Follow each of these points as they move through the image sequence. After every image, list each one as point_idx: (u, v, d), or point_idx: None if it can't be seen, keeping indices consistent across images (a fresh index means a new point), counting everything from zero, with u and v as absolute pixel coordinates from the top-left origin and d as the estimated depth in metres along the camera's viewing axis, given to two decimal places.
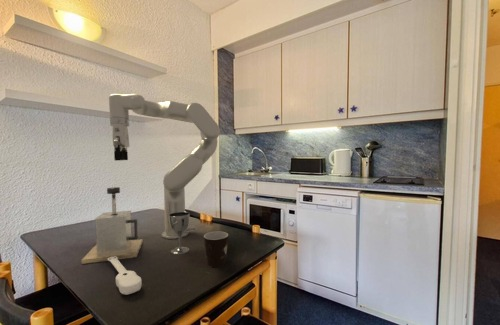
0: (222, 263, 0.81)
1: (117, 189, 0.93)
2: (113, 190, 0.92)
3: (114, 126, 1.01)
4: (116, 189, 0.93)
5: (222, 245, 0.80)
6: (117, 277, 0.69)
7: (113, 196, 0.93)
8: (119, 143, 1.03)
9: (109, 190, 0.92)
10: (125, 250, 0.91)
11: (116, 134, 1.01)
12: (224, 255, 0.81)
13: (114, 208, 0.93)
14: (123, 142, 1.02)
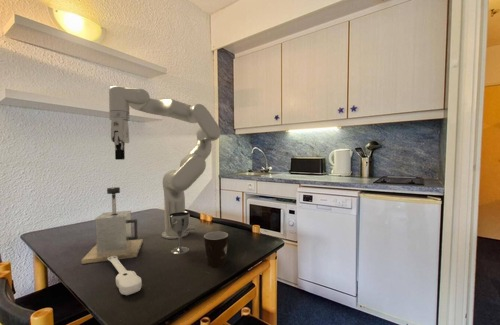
0: (222, 263, 0.81)
1: (117, 189, 0.93)
2: (113, 190, 0.92)
3: (113, 120, 0.95)
4: (116, 189, 0.93)
5: (222, 245, 0.80)
6: (117, 277, 0.69)
7: (113, 196, 0.93)
8: None
9: (109, 190, 0.92)
10: (125, 250, 0.91)
11: (114, 128, 0.95)
12: (224, 255, 0.81)
13: (114, 208, 0.93)
14: (122, 137, 0.96)
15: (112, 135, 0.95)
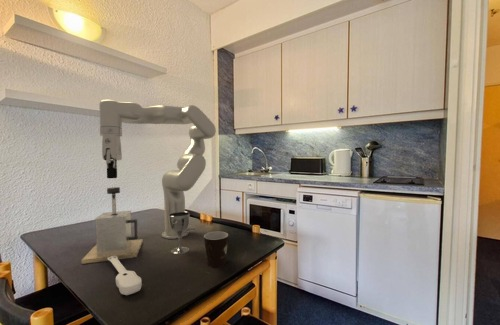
0: (222, 263, 0.81)
1: (117, 189, 0.93)
2: (113, 190, 0.92)
3: (104, 136, 0.88)
4: (116, 189, 0.93)
5: (222, 245, 0.80)
6: (117, 277, 0.69)
7: (113, 196, 0.93)
8: None
9: (109, 190, 0.92)
10: (125, 250, 0.91)
11: (106, 146, 0.88)
12: (224, 255, 0.81)
13: (114, 208, 0.93)
14: (114, 155, 0.89)
15: (104, 153, 0.88)
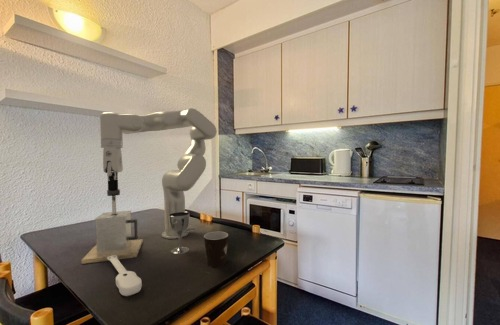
0: (222, 263, 0.81)
1: (117, 191, 0.93)
2: (113, 192, 0.92)
3: (105, 149, 0.89)
4: (116, 191, 0.93)
5: (222, 245, 0.80)
6: (117, 278, 0.69)
7: (113, 198, 0.93)
8: None
9: (109, 192, 0.92)
10: (125, 250, 0.91)
11: (107, 158, 0.88)
12: (224, 255, 0.81)
13: (114, 210, 0.93)
14: (115, 168, 0.89)
15: (105, 166, 0.88)
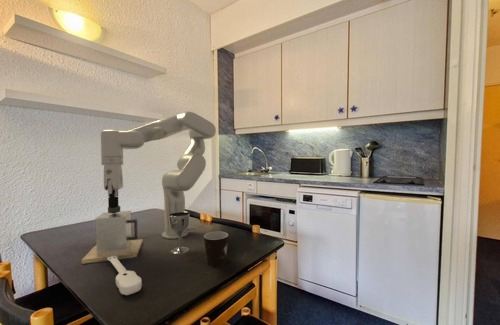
0: (222, 263, 0.81)
1: (118, 208, 0.93)
2: (114, 209, 0.92)
3: (106, 167, 0.89)
4: (117, 208, 0.93)
5: (222, 245, 0.80)
6: (117, 277, 0.69)
7: None
8: None
9: (110, 209, 0.92)
10: (125, 250, 0.91)
11: (108, 176, 0.89)
12: (224, 255, 0.81)
13: None
14: (116, 185, 0.89)
15: (105, 184, 0.88)
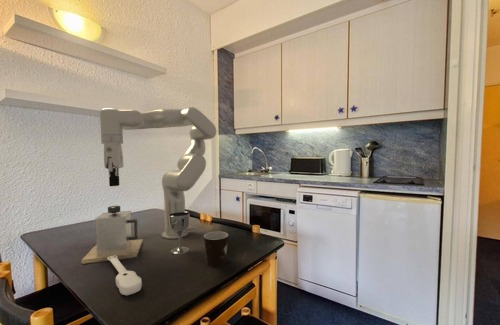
0: (222, 263, 0.81)
1: (118, 208, 0.93)
2: (114, 209, 0.92)
3: (106, 145, 0.89)
4: (117, 208, 0.93)
5: (222, 245, 0.80)
6: (117, 277, 0.69)
7: None
8: None
9: (110, 209, 0.92)
10: (125, 250, 0.91)
11: (108, 154, 0.89)
12: (224, 255, 0.81)
13: None
14: (116, 163, 0.90)
15: (105, 162, 0.88)
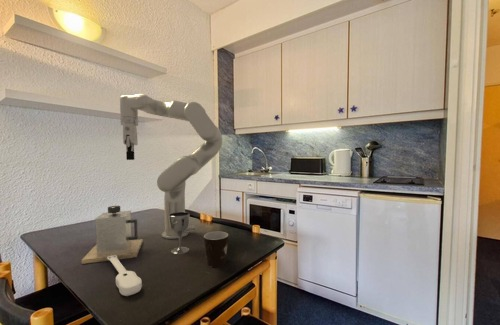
0: (222, 263, 0.81)
1: (118, 208, 0.93)
2: (114, 209, 0.92)
3: (124, 125, 1.08)
4: (117, 208, 0.93)
5: (222, 245, 0.80)
6: (117, 278, 0.69)
7: None
8: (129, 142, 1.11)
9: (110, 209, 0.92)
10: (125, 250, 0.91)
11: (126, 133, 1.08)
12: (224, 255, 0.81)
13: None
14: (133, 140, 1.09)
15: (124, 138, 1.08)
